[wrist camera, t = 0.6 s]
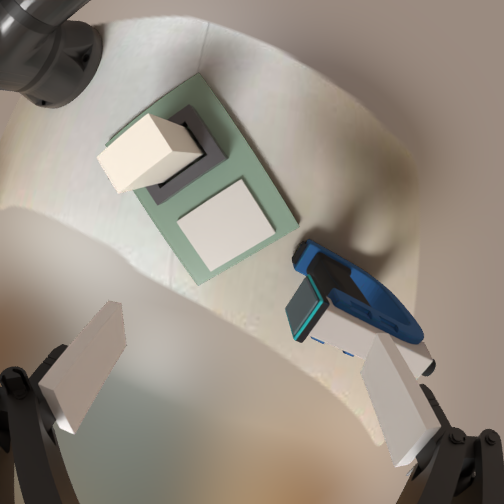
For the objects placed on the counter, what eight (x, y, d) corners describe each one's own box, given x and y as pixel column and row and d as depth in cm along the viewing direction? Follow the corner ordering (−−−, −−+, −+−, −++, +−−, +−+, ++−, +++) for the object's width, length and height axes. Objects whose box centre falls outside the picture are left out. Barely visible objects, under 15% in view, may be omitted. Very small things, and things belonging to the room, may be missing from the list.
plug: (153, 156, 35) (96, 157, 22) (190, 129, 34) (148, 113, 20) (168, 180, 36) (118, 194, 23) (206, 154, 35) (172, 151, 21)
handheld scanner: (292, 226, 38) (315, 294, 19) (384, 279, 40) (449, 361, 21) (275, 255, 39) (281, 342, 21) (367, 303, 41) (418, 394, 22)
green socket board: (108, 144, 35) (93, 144, 32) (200, 74, 32) (193, 65, 28) (199, 283, 41) (193, 295, 37) (298, 225, 38) (302, 232, 34)
